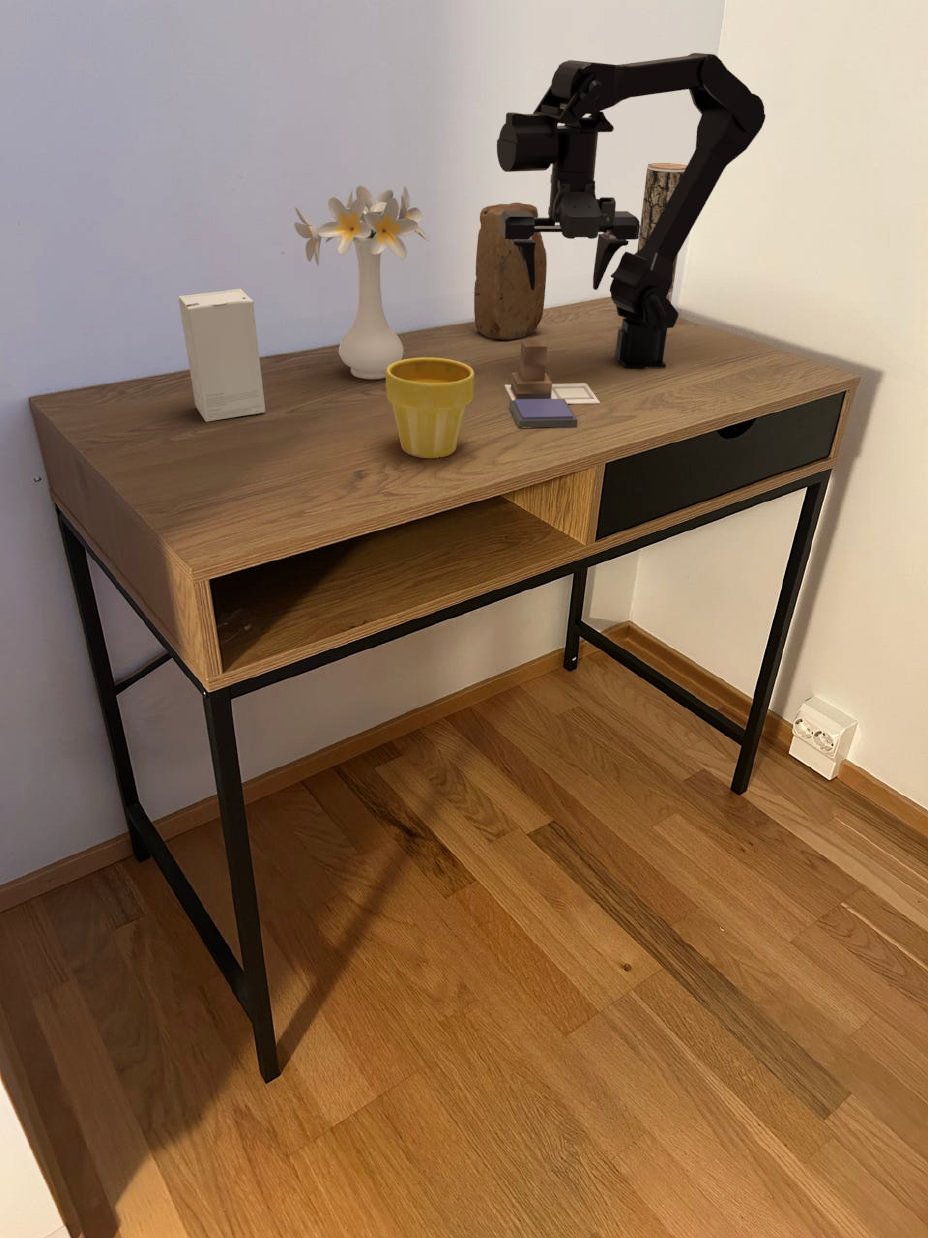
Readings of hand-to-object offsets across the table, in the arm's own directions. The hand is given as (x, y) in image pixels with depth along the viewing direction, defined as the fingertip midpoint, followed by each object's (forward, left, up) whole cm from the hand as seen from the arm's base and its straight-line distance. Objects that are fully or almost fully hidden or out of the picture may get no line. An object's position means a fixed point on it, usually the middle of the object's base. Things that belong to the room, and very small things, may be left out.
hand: (563, 289), depth 135 cm
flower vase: (+28, 0, -12) cm, 31 cm away
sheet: (+3, +10, -12) cm, 16 cm away
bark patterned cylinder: (-22, -26, -12) cm, 36 cm away
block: (+4, -20, -12) cm, 24 cm away
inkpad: (+6, +18, -12) cm, 23 cm away
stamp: (+6, +10, -12) cm, 16 cm away
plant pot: (+22, +28, -12) cm, 38 cm away
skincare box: (+47, +14, -12) cm, 51 cm away
